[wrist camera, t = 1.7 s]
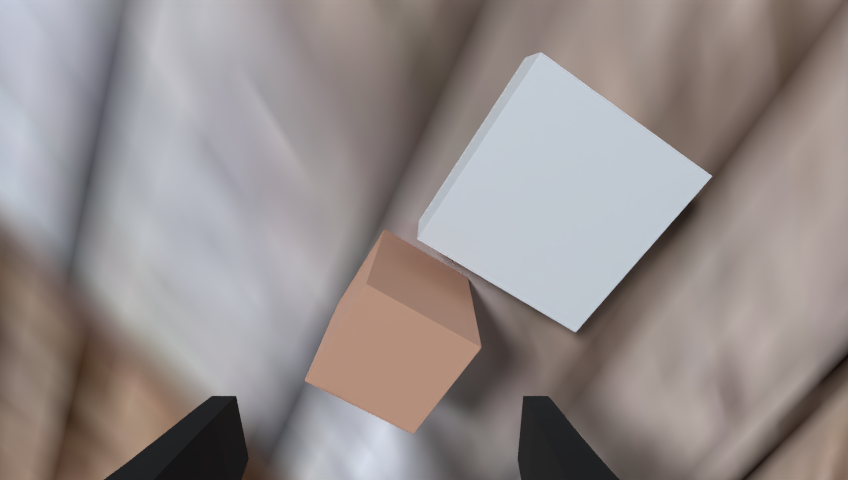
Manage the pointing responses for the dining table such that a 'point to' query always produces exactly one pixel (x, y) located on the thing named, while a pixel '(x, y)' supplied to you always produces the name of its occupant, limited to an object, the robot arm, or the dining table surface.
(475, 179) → the foundation slab
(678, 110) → the dining table surface
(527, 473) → the robot arm
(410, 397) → the column block
